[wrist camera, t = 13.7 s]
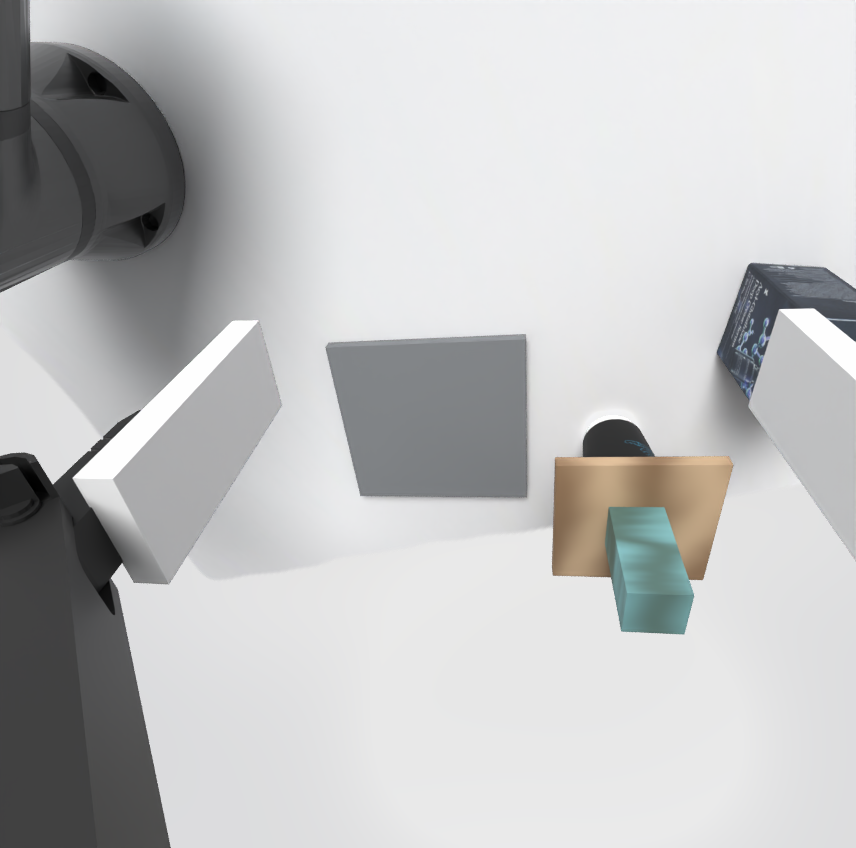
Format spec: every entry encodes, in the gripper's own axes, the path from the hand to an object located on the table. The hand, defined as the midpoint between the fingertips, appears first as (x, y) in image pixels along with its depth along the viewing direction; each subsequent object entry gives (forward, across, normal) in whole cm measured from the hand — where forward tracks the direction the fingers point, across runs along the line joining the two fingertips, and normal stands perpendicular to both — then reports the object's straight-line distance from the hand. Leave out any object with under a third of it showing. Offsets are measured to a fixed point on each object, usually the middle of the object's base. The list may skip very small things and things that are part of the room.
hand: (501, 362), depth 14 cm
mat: (+30, -7, -23) cm, 39 cm away
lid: (+19, +10, -24) cm, 32 cm away
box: (+30, +21, -12) cm, 39 cm away
